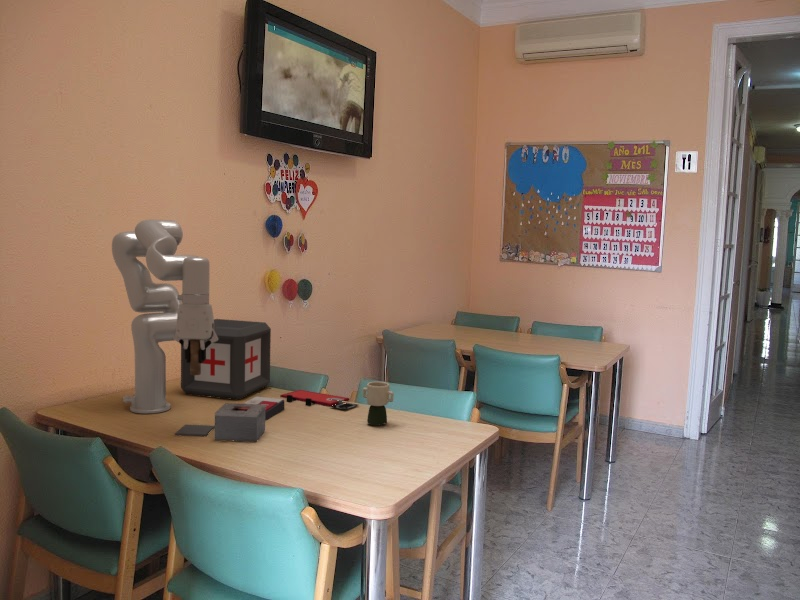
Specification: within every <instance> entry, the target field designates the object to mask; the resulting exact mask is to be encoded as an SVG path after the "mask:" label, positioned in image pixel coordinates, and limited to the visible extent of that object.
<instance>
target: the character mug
mask: <svg viewBox="0 0 800 600" xmlns="http://www.w3.org/2000/svg"><path fill="white" fill-rule="evenodd" d="M390 388H391V387H390V383H388V382H385V381H371V382H368V383H367V384H366V387H365V386H364V387H363V388H362V397H363V398H365V399H366V404H367V405H370V406H369V408H368V412H367V420H366V422H367V423H368V424H369V425H370V426H371V425H372V426H382V425H384V424H388V415H387V408H386V406H387V405H388V404H389V402H390V403H393V402H394V392H393V391H390ZM381 424H382V425H381Z"/></svg>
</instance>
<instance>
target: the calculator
mask: <svg viewBox="0 0 800 600" xmlns="http://www.w3.org/2000/svg"><path fill="white" fill-rule="evenodd" d="M243 404H263V405H266V406H265V422H266V421H267V420H269V419H271V418H273V417H275V416H276V415H277V414H279V413H281V412H283V411H285V400H284V399H283V398H273V397H265V396H255V397H254V396H253V397H252V398H251V399H248V400H246V401H245V402H243Z"/></svg>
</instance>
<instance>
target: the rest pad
mask: <svg viewBox="0 0 800 600" xmlns="http://www.w3.org/2000/svg"><path fill="white" fill-rule="evenodd" d="M213 428H214V429H215V425H207V424H205V425H203V424H184V425H183V426H181V428H179V429H178V430H177V431H176V432H175V433H174V436H179V435H181V436H182V437H183V436H185V437H187V436H188V437H204V436H206V435H207V434H208V433H209V432H210V431H211V430H212V429H213ZM214 429H213V430H214ZM213 430H212V431H213ZM212 431H211V432H212ZM211 432H210V433H211ZM210 433H209V434H210ZM209 434H208V435H209ZM208 435H207V436H208ZM207 436H206V437H207Z"/></svg>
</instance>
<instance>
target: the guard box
mask: <svg viewBox="0 0 800 600" xmlns="http://www.w3.org/2000/svg"><path fill="white" fill-rule="evenodd" d="M265 406H266V405H263V404H244V403H233V402H225V403H223V405H221V406H220V407H219V409H217V410H215V412H214V426H215V428H214V441H221V440H234V441H233V442H245V441H254V442H253V443H257V442H258V441H259V439H260V438H261V437H262V436H263V434H264V433H265V432H266V421H265ZM241 410H242V411H241ZM257 440H258V441H257Z"/></svg>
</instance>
